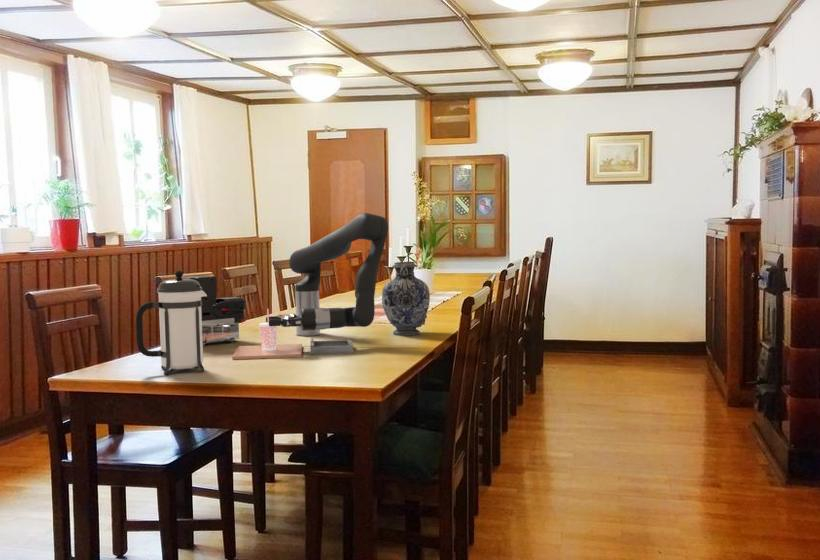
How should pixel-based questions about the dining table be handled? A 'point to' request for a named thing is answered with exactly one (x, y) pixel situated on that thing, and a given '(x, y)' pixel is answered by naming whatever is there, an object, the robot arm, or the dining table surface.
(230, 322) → the bill acceptor
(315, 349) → the square metal frame
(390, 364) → the dining table surface
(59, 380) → the dining table surface
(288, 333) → the dining table surface
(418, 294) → the decorative vase
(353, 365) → the dining table surface
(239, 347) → the terracotta tile
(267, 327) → the beverage cup
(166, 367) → the coffee press
